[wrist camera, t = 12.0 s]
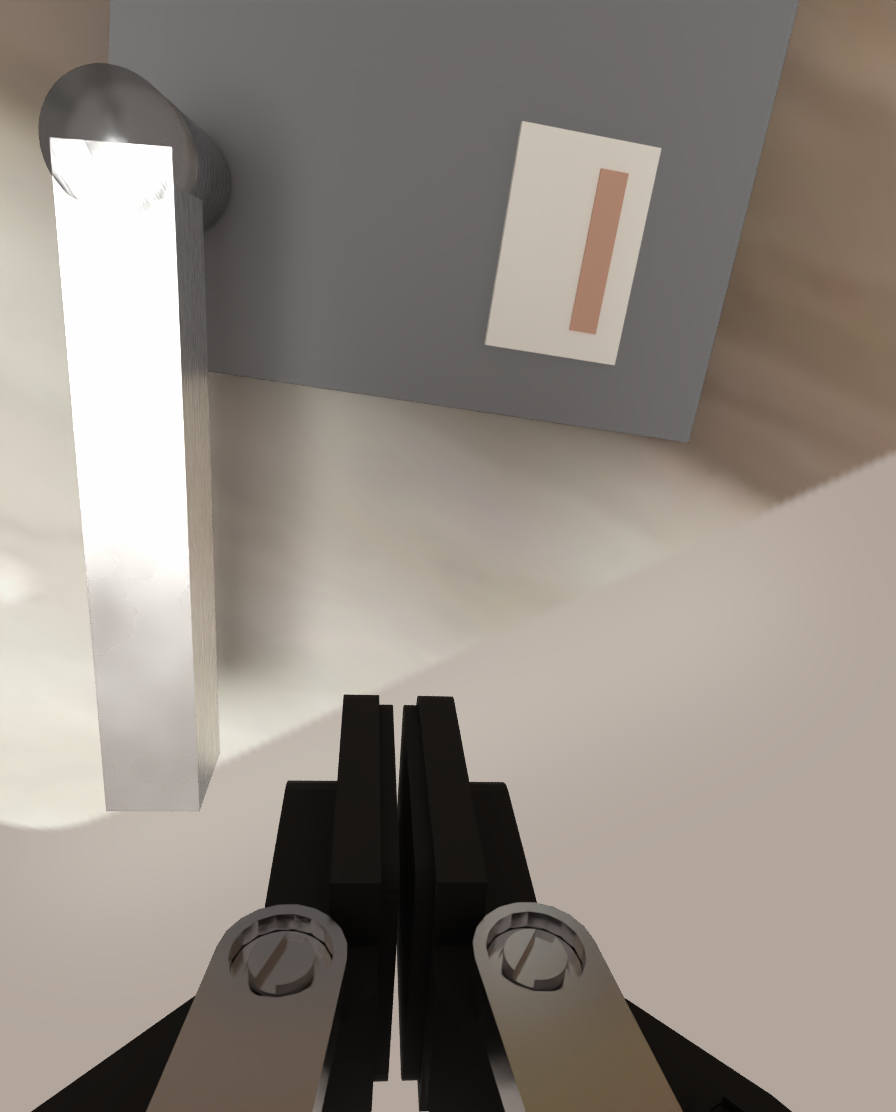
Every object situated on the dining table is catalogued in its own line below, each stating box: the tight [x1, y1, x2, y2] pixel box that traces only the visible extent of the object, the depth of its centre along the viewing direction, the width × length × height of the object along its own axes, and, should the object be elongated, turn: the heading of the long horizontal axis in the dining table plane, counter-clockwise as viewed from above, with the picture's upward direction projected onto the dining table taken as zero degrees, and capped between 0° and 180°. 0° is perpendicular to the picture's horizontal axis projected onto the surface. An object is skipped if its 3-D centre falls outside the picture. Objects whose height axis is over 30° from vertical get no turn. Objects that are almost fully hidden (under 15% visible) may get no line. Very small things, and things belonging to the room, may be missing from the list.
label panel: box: [108, 0, 799, 443], centre depth 22 cm, size 20×18×2 cm
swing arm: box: [39, 63, 232, 811], centre depth 21 cm, size 3×17×6 cm, turn 176°
